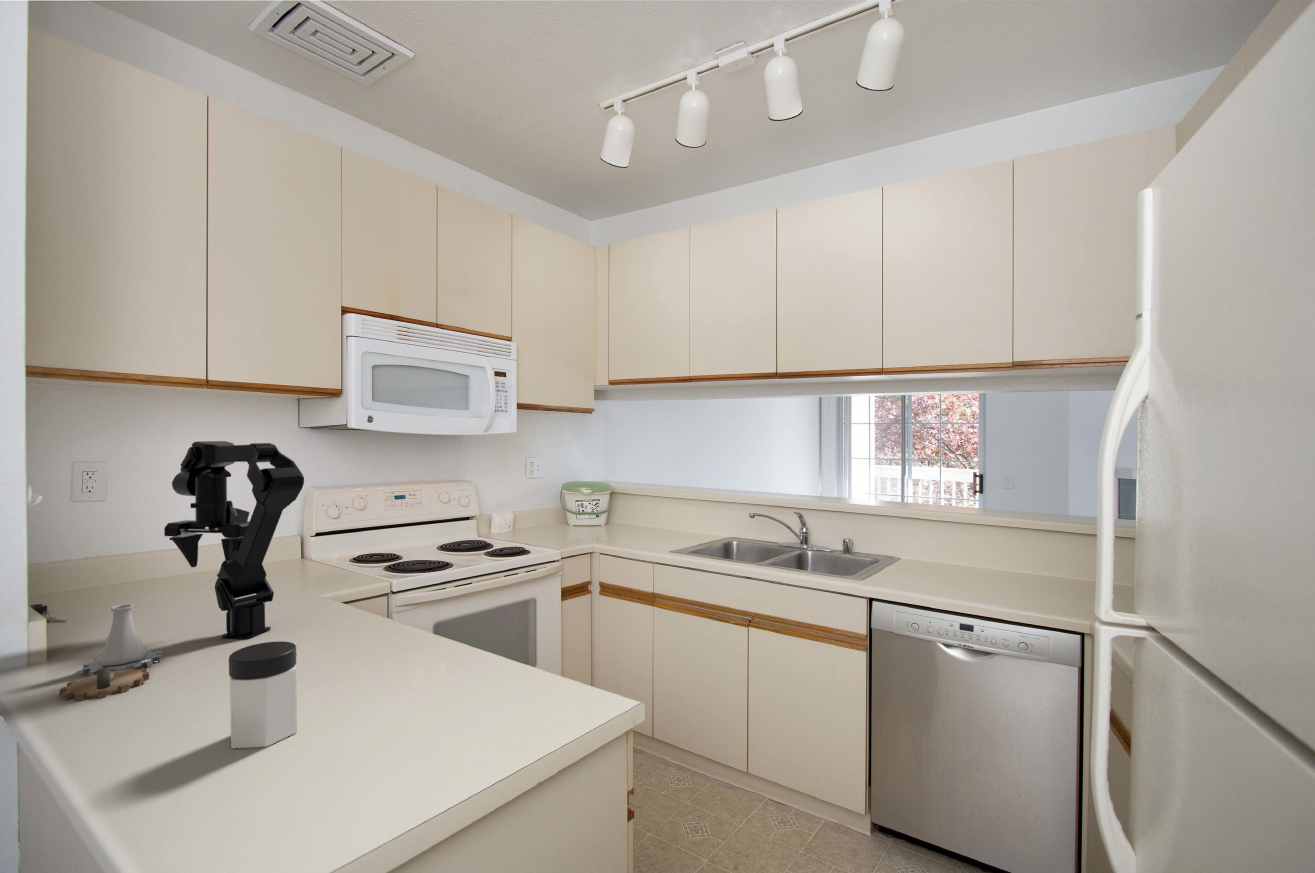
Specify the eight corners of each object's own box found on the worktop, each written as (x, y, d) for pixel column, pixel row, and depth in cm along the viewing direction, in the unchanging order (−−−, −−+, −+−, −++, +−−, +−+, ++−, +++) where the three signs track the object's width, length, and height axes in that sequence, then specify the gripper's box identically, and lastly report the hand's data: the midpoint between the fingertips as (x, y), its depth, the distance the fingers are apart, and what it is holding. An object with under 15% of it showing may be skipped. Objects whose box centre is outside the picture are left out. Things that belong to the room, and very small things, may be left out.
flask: (146, 661, 114) (145, 607, 114) (93, 670, 110) (92, 614, 110) (150, 650, 120) (149, 598, 120) (100, 658, 116) (99, 604, 115)
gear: (177, 655, 119) (177, 650, 119) (118, 678, 108) (118, 673, 108) (127, 652, 121) (127, 647, 121) (64, 675, 110) (63, 670, 110)
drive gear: (165, 674, 110) (165, 652, 110) (100, 702, 99) (99, 677, 99) (111, 671, 112) (111, 649, 112) (41, 698, 101) (40, 673, 100)
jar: (310, 719, 93) (309, 639, 92) (283, 747, 84) (282, 659, 84) (247, 722, 92) (246, 641, 92) (213, 750, 84) (212, 662, 83)
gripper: (276, 494, 144) (277, 561, 144) (205, 493, 147) (206, 559, 147) (237, 499, 133) (238, 571, 133) (161, 498, 136) (162, 569, 136)
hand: (212, 567), depth 138 cm, fingers open, 9 cm apart
